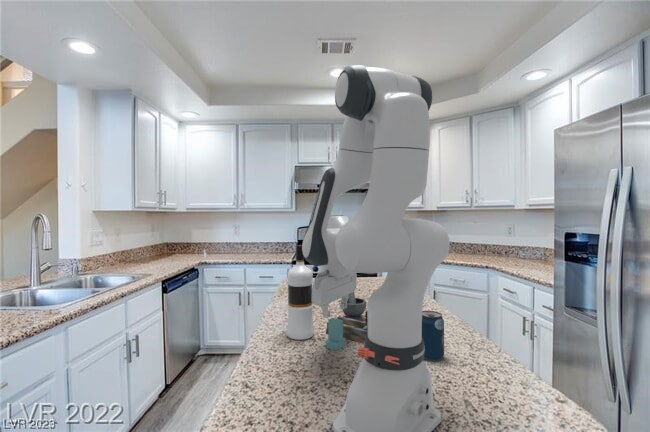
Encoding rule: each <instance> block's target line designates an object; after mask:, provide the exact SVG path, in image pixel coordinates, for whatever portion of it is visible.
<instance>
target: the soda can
mask: <svg viewBox="0 0 650 432" xmlns="http://www.w3.org/2000/svg"><path fill="white" fill-rule="evenodd" d="M422 338H423V340H424V346H425V352H424V360H427V361H429V362H436V361H441V360H442V358H443V357H444V355H445V320H444V319H443V315H442V313H441V312H439V311H435V310H422Z"/></svg>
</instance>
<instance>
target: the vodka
mask: <svg viewBox="0 0 650 432" xmlns="http://www.w3.org/2000/svg"><path fill="white" fill-rule="evenodd" d="M295 247H296V249H295V252H296V254H295V259H296V260H295V262H296V263H295V265H293V267H291V268H290V269H289V270H288V271H287V298H288V299H287V316H288V317H287V325H286V329H285V330H286V333H285V334H286V336H287V338H289V339H291V340H295V341H303V340H304V341H305V340H308V339H310V338H312V337H314V335H315V325H314V317H313V316H314V315H313V307H314V304H313V303H312V288H313V282H314V280H313V277H314V275H313V274H314V273H313V270H312V268H311V269H310V268H309V267H308V266H306V265H305V258H304V256H303V253H302V244H297V245H296V246H295Z"/></svg>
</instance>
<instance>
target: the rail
mask: <svg viewBox="0 0 650 432" xmlns="http://www.w3.org/2000/svg"><path fill="white" fill-rule="evenodd" d="M364 316H365V320H364V321H362V320H360V321H359V320H355V319H350V318H345V316H341V315H339V316H337V318H336V319H340V320H343V338H346V340H350V341H353V340H354V341H355V342H357V341H358V342H357V343H361V344H364V342H365V339H366V335H367V333H368V309H367V310H365V311H364ZM325 334H327V335H328V322H326V329H325Z"/></svg>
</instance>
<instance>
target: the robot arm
mask: <svg viewBox="0 0 650 432" xmlns="http://www.w3.org/2000/svg"><path fill="white" fill-rule="evenodd" d="M334 90H335V92H334V102H335V106H336V108H337V109H338V110H339V112H340V113H341V114H342V115H343V116H345V119H344V120H343V125H342V128H341V134H340V137H339V144H338V145H339V146H338V151H337V155H336V159H335V161H334V162H333V164H332V166H331V167H330V168H328V169H326V170H325V171H324V173H323V175H322V177H321V180H320V182H319V186H318V189H317V192H316V196H315V200H314V205H313V207H312V211H311V215H310V219H309V223H308V226H307V228H306V231H305V233H304V235H303V239H302V242H301V243H302V244H301V245H302V253H303V256H304V260H305V261H307V262H308V263H309V264H311V265H312V266H314V267H320V272H318V273H317V275H316V277H314V280H313V283H312V304H313V306H318V307H320V309H321V311H322V318H325V319H328V318H331V311H330V310H329V304H331V303H332V302H336V301H337V300H339V299H341V300H340V302H339V309H341V310H342V309H345V308H347V301H348V298H349V294H350V293H352V292H354V293H355V291H356V289H357V281H358V280H357V276H358V274H357V273H359V274H368V275H370V274H372V275H373V274H380V273H386V277H385V278H384V281H383V282H382V284H381V285H380V286H378V288H377V289H375V290H374V291H373V292H372V293H371V294H370V296H369V297H368V301H367V303H366V308H367V310H368V333H367V335H366V339H365V342H364V343H363V346H361V345H360V346H358V350H357V356H358V357H359V358H362V360H361V362H360V363H359V366H358V368H357V370H356V372H355V375H354V376H353V379H352V381H351V384H350V386H349V388H348V391H347V392H346V393H347V394H346V398H345V402H344V403H343V405H342V407H341V409H340V410H339V412H338V414H337V415H336V417H335V419H334V420H333V422H332V428H331V429H332V431H333V432H432V431H434V430H435V428H436V427H438V425H440V423H441V422H442V413H441V412H440V411H439V410H438V409H437V408H436V407H435V406H434V394H433V391H434V390H433V379H432V377H433V376H432V373H431V371H430V370H429V369H428V367H427V365H426V364H425V361H424V360H425V359H424V352H425V346H424V340H423V338H422V311H423V307H424V306H423V304H424V299H425V294H426V293H427V292H426V291H427V288H428V286H429V284H430V281H431V278H432V277H433V275H434V272H435V271H436V269H437V268H438V267H439V266H440V265H441V264H442V263H443V262H444V261H445V260H446V258H447V257H448V255H449V252H450V245H451V243H450V242H451V241H450V237H449V235H448V232H447V230H446V229H445V227H444V226H443V225H441V224H440V223H438V222H437V221H432V220H429V219H425V218H424V219H423V218H417V217H416V218H413V217H411V218H404V215H405V214H406V213H405V212H406V211H407V209H408V207H409V206H410V204H411V203H413V202H414V201H415V200H417V199H418V198H420V197H421V196H422V195H423V194H424V192H425V190H426V189H427V181H428V173H429V172H428V169H429V159H430V144H431V126H430V125H431V124H430V113H429V111H430V109H431V107H432V104H433V103H432V102H433V90H432V87H431V85H430V84H429V83H428V81H427V80H425V79H424V78H422V77H419V76H417V75H410V74H406V73H404V72H399V71H396V70H393V69H389V68H386V67H385V68H384V67H378V66H377V67H376V66H365V65H364V64H356V65H355V64H353V65H348V66H346V67H345V68H344V69H343V70H342V71H341V72H340V73H339V75H338V78H337V81H336V85H335V89H334ZM368 183H369V185H368V190H367V192H366V195H365V198H364V200H363V202H362V204H361V205H360V207H359V209H358V211H357V212H356V213H355V214H354V215H353V217H352V218H350V219H349V217H348V216H347V215H344V214H334V215H332V212H333V208H334V205H335V202H336V201H337V200H338V198H339V197H341V196H342V195H344V194H345V193H346V192H348V191H351V190H354V189H357V188H359V187H361V186H365V185H366V184H368Z"/></svg>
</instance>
